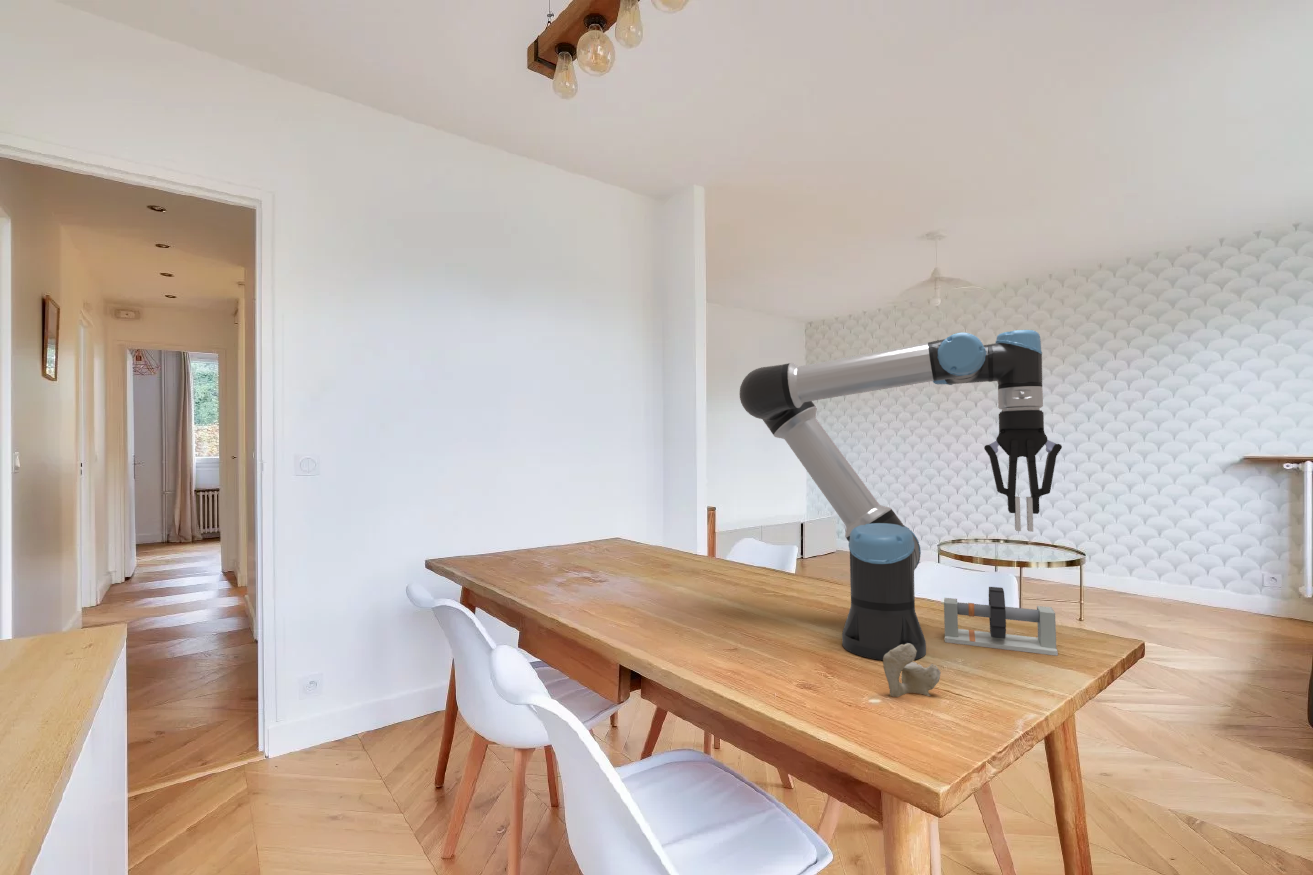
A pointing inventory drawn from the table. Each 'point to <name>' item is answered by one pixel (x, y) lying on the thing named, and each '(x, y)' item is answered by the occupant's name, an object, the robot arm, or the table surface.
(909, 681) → the bone
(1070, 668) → the table surface
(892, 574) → the robot arm
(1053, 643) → the pipe rig
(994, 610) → the o-ring
